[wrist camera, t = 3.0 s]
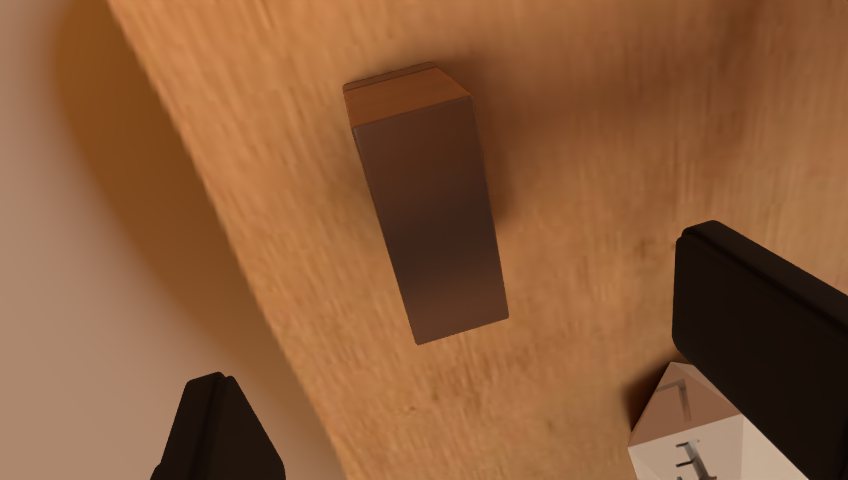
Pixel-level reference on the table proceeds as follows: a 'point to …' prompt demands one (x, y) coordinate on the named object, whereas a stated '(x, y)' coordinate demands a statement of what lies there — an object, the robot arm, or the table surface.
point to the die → (701, 435)
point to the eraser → (430, 197)
